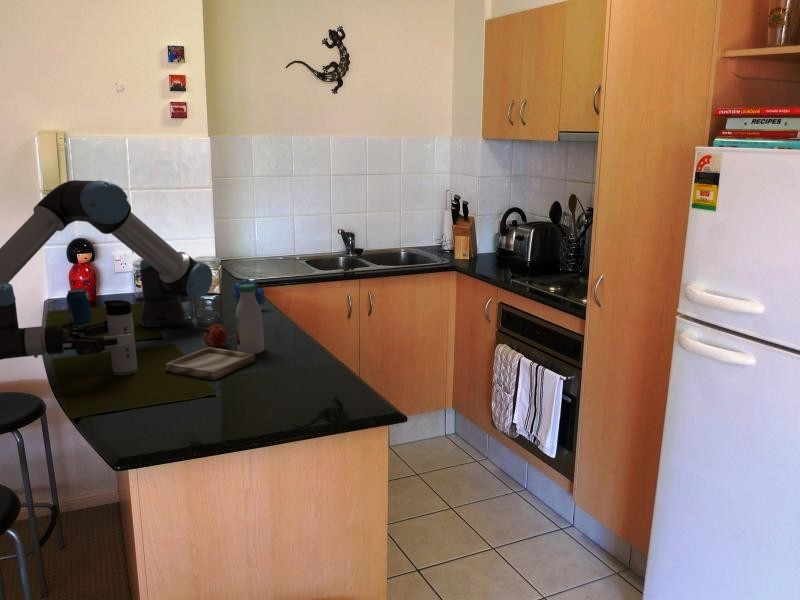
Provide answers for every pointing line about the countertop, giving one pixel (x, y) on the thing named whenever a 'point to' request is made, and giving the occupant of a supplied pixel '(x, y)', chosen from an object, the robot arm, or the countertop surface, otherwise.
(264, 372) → the countertop surface
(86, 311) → the soda can
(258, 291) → the grapes
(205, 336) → the pomegranate
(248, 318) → the milk bottle
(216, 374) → the wood tray
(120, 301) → the travel mug
